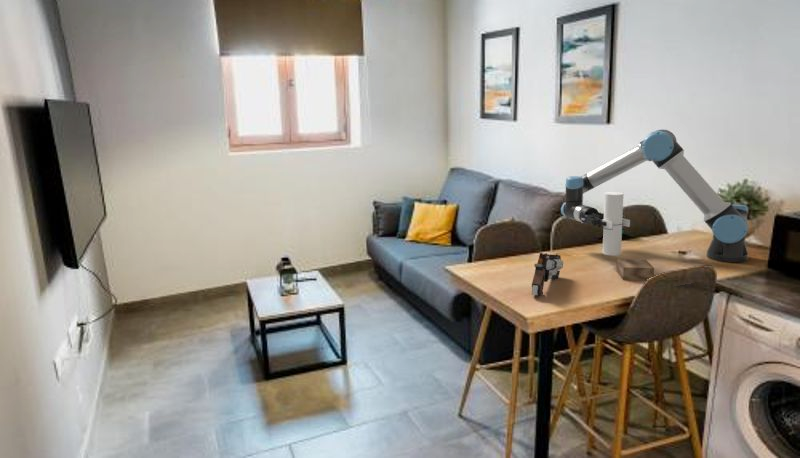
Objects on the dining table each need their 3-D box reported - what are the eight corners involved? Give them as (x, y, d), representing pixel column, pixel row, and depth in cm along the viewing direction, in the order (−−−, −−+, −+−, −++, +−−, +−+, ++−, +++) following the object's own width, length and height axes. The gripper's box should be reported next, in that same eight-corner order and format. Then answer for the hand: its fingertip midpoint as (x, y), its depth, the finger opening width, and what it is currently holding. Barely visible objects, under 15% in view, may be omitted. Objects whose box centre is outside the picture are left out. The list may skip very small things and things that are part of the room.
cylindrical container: (622, 255, 224) (625, 194, 218) (603, 255, 225) (606, 194, 220) (619, 250, 230) (621, 191, 225) (601, 250, 232) (603, 192, 227)
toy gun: (560, 292, 217) (564, 254, 217) (540, 296, 193) (545, 253, 193) (549, 290, 220) (552, 253, 220) (527, 294, 195) (531, 252, 195)
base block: (645, 271, 220) (646, 259, 219) (653, 280, 209) (654, 267, 208) (616, 271, 222) (617, 259, 221) (622, 279, 211) (623, 267, 210)
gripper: (605, 220, 245) (641, 231, 224) (566, 225, 240) (598, 236, 218) (606, 204, 244) (642, 212, 222) (566, 208, 238) (599, 217, 217)
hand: (620, 224), depth 220 cm, fingers closed on cylindrical container, 7 cm apart
